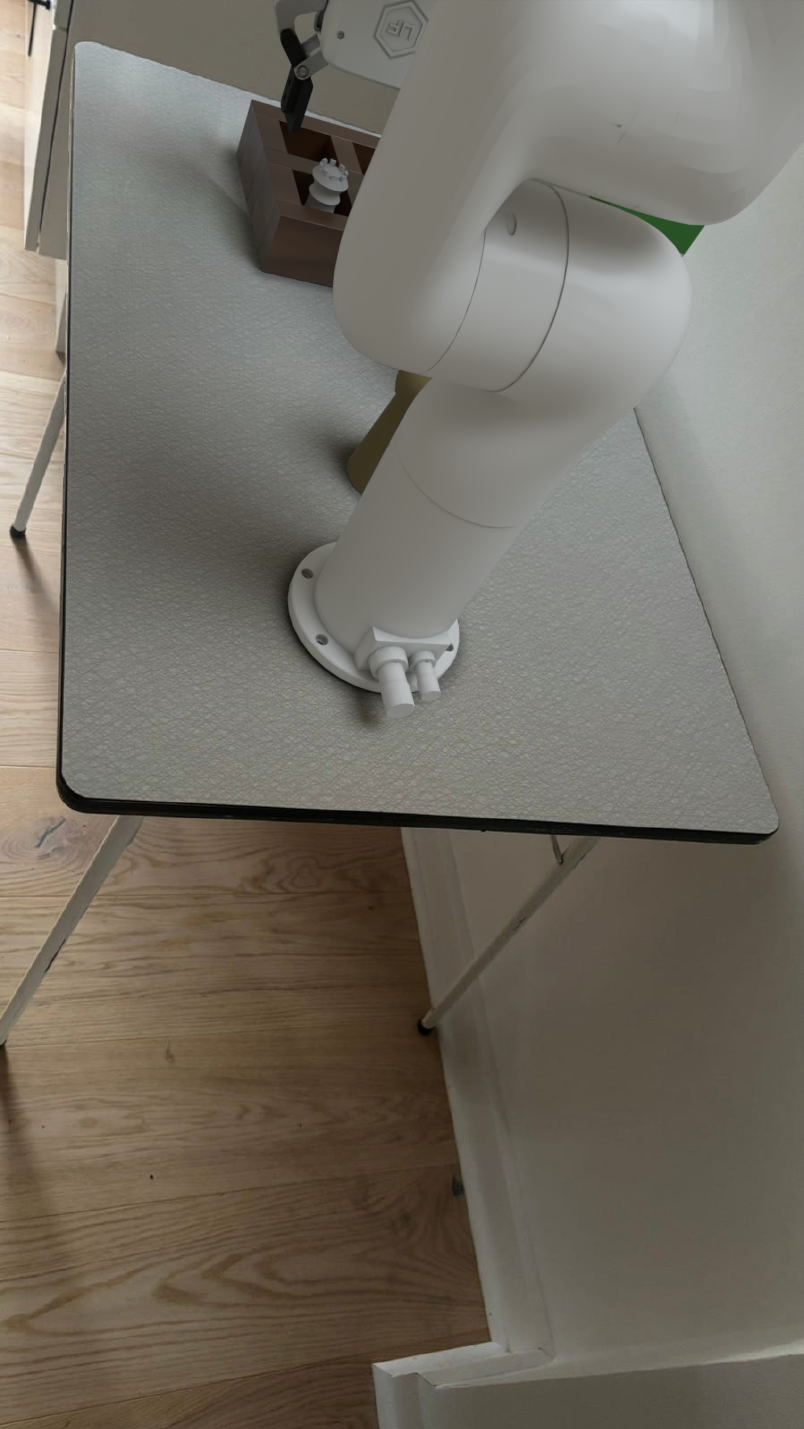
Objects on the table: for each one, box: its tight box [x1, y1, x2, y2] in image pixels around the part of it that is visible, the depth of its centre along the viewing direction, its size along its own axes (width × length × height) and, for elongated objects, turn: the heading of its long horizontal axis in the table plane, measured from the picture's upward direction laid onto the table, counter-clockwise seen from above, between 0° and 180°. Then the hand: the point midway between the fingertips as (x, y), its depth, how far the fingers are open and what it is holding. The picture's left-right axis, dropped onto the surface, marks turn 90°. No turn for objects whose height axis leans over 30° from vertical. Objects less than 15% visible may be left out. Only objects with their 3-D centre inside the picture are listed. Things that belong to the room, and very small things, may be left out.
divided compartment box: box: [235, 98, 381, 288], centre depth 93 cm, size 17×17×6 cm
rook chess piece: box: [304, 158, 348, 213], centre depth 88 cm, size 4×4×8 cm
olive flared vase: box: [346, 369, 432, 495], centre depth 75 cm, size 6×6×11 cm
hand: (345, 139), depth 83 cm, fingers open, 9 cm apart
